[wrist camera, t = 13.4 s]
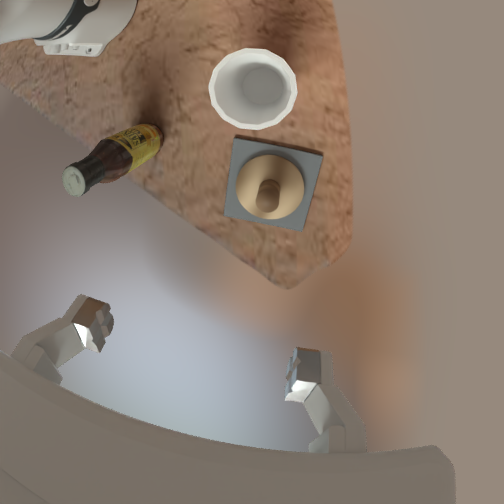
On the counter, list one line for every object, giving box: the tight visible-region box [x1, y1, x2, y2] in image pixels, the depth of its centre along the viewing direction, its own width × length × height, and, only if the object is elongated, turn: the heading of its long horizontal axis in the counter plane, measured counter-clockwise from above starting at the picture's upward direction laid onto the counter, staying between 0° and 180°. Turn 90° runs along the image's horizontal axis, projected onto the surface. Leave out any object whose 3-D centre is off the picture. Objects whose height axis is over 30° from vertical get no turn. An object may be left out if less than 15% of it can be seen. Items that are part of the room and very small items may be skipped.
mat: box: [224, 138, 323, 232], centre depth 46 cm, size 14×14×1 cm
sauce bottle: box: [62, 123, 163, 197], centre depth 35 cm, size 6×6×20 cm
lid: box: [236, 155, 304, 219], centre depth 43 cm, size 11×11×6 cm
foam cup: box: [208, 48, 298, 130], centre depth 31 cm, size 10×9×13 cm
